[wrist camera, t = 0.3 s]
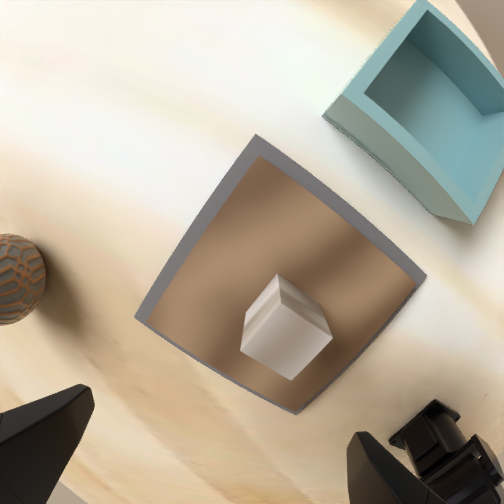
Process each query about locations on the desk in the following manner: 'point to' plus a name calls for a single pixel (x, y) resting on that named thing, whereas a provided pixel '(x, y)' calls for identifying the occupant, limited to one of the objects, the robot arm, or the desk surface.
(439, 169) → the dish
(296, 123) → the desk surface
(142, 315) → the mat
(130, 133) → the desk surface
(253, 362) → the lid
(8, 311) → the vase
